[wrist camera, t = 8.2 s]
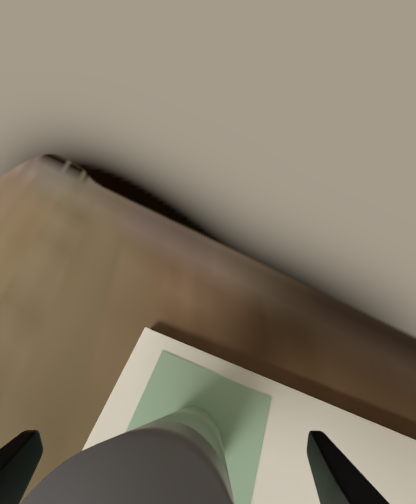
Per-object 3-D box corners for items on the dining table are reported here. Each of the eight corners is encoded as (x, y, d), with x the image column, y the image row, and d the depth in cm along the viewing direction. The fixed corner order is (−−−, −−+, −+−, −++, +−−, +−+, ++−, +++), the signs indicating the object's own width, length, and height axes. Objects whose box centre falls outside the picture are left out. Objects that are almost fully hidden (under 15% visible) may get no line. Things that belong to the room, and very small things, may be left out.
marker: (185, 504, 12) (-58, 1472, 1) (149, 438, 14) (-101, 604, 3) (233, 448, 13) (329, 678, 2) (196, 393, 15) (151, 383, 4)
